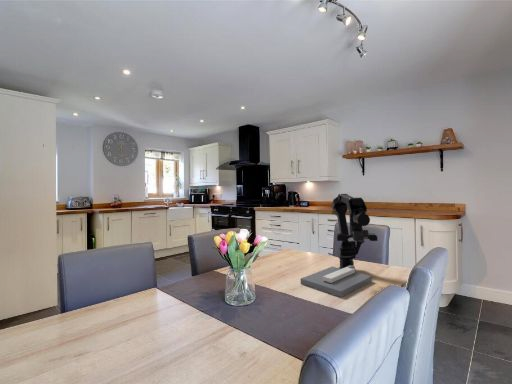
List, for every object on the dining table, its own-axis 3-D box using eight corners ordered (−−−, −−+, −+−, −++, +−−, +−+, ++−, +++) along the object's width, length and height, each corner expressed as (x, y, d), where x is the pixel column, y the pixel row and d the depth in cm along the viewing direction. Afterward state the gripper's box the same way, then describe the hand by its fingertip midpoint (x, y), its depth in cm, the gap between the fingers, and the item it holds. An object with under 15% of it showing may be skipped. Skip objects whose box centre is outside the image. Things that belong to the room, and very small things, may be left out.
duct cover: (349, 269, 140) (349, 264, 140) (357, 271, 136) (357, 266, 136) (323, 280, 126) (322, 275, 126) (331, 283, 122) (331, 277, 122)
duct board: (300, 283, 130) (300, 278, 130) (332, 271, 147) (332, 266, 147) (341, 297, 113) (341, 291, 113) (371, 281, 130) (371, 276, 130)
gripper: (338, 225, 128) (339, 258, 128) (380, 225, 124) (381, 259, 125) (335, 222, 139) (336, 252, 139) (374, 221, 135) (374, 252, 136)
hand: (356, 254), depth 134 cm, fingers closed
